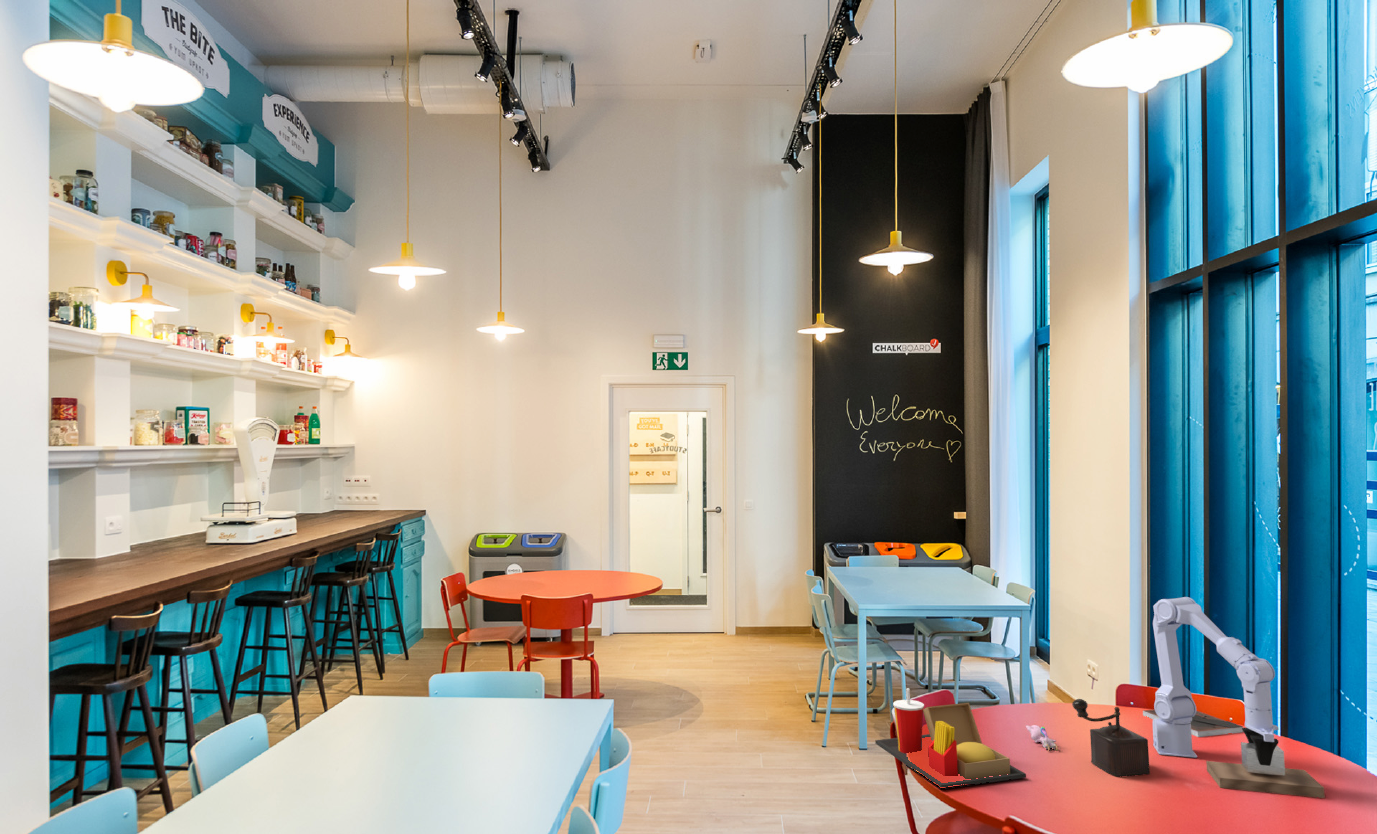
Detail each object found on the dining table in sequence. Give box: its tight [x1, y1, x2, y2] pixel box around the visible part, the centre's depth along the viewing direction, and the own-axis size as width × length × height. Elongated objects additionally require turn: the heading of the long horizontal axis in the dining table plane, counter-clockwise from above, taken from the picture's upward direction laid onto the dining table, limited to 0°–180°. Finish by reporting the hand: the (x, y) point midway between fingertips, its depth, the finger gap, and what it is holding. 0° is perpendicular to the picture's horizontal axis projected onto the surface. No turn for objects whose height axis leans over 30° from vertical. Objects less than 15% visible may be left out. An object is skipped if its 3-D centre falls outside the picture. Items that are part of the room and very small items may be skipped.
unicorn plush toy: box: [1025, 724, 1059, 751], centre depth 235 cm, size 6×6×15 cm
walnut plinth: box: [1206, 760, 1326, 799], centre depth 202 cm, size 22×12×2 cm, turn 70°
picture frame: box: [1142, 709, 1244, 738], centre depth 250 cm, size 16×2×22 cm
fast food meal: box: [874, 687, 1027, 787], centre depth 222 cm, size 26×35×18 cm
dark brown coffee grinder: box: [1071, 698, 1151, 778], centre depth 215 cm, size 16×11×18 cm
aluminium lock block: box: [1240, 741, 1286, 776], centre depth 203 cm, size 8×4×6 cm, turn 70°
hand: (1261, 761), depth 203 cm, fingers closed on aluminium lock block, 4 cm apart
